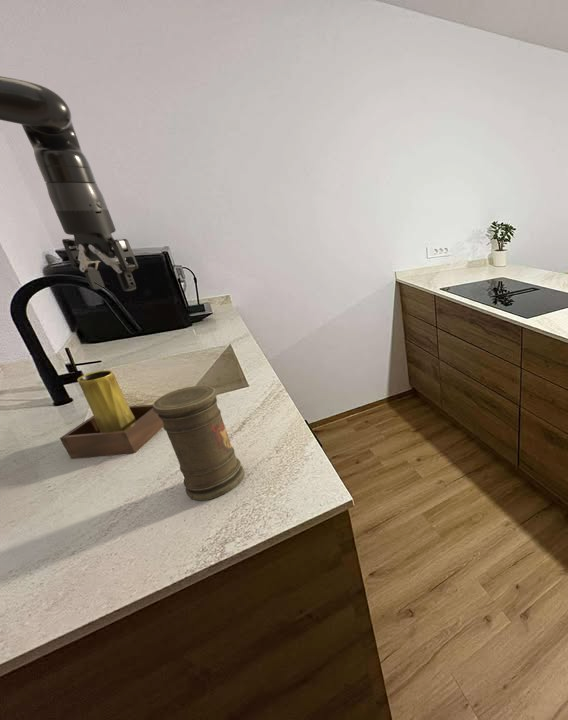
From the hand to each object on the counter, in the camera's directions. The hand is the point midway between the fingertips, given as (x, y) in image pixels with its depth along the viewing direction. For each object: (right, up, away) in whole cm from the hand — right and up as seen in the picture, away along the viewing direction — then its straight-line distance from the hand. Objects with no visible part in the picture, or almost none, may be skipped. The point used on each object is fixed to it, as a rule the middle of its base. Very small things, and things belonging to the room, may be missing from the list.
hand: (114, 289), depth 80 cm
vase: (+1, -32, +1) cm, 32 cm away
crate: (+1, -32, +1) cm, 32 cm away
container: (+30, -38, -12) cm, 50 cm away
